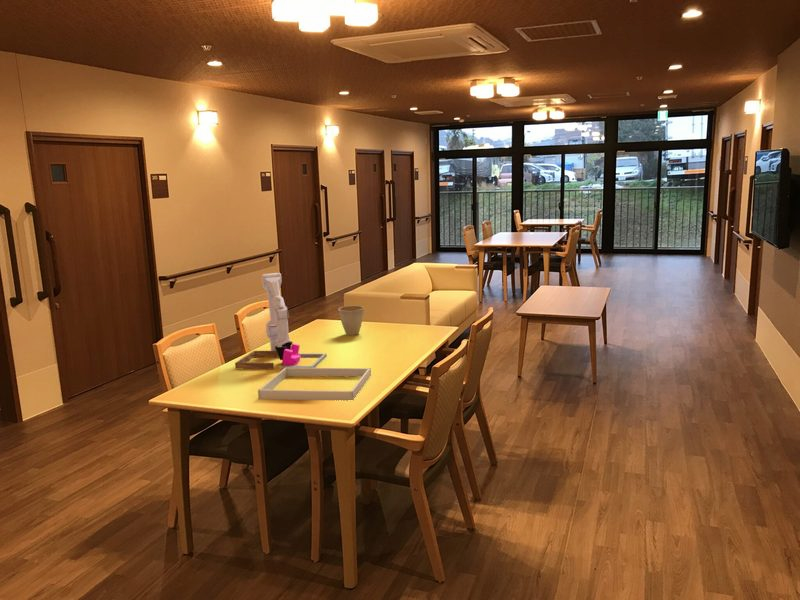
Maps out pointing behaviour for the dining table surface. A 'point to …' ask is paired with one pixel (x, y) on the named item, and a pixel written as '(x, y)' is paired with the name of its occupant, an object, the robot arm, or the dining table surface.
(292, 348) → the toy block
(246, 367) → the walnut stall
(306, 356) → the frame
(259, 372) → the dining table surface
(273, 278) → the robot arm
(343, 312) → the plant pot
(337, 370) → the frame
